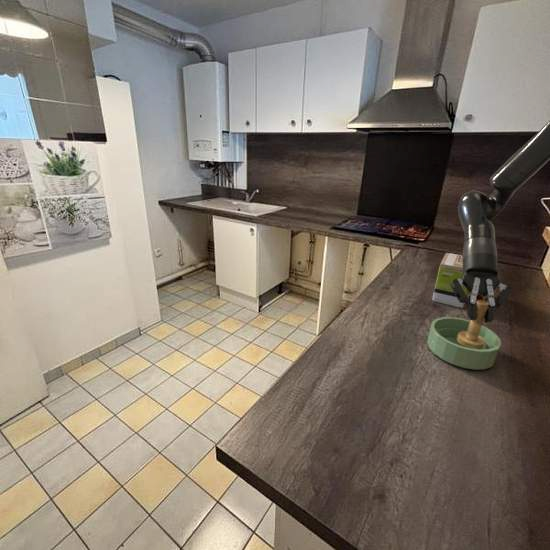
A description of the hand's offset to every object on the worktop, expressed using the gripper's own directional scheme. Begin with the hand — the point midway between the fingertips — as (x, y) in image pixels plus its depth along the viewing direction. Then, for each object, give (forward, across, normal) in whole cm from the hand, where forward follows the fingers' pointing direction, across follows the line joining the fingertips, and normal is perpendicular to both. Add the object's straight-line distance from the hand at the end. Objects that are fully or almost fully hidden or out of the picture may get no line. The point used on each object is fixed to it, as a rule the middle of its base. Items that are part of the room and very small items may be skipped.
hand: (480, 320), depth 71 cm
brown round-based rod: (+4, 0, +7) cm, 8 cm away
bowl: (+6, -2, +10) cm, 12 cm away
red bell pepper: (-22, +13, +38) cm, 46 cm away
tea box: (-18, +3, +35) cm, 39 cm away
